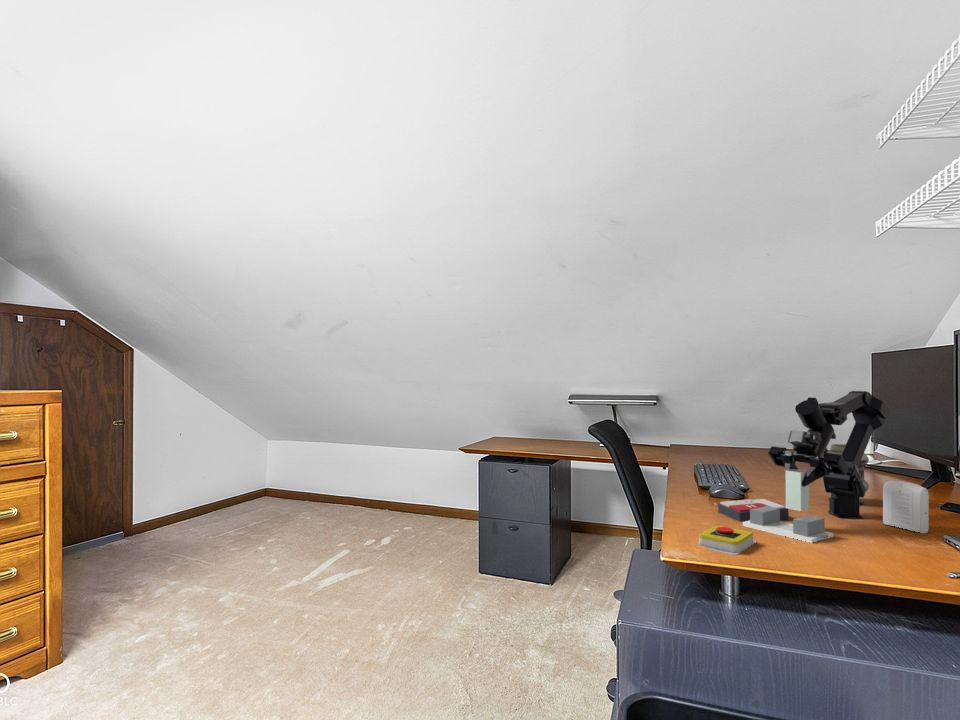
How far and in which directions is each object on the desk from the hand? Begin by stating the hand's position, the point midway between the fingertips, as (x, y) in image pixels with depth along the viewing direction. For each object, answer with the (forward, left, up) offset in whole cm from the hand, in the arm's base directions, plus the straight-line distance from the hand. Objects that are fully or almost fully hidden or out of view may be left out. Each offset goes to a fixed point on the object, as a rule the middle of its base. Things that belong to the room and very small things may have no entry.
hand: (794, 484), depth 149 cm
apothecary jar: (-31, -36, -12) cm, 49 cm away
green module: (-1, -1, -7) cm, 7 cm away
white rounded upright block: (-30, -5, -12) cm, 33 cm away
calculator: (+6, -13, -12) cm, 19 cm away
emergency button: (+22, +16, -12) cm, 30 cm away
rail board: (+3, +2, -12) cm, 12 cm away
